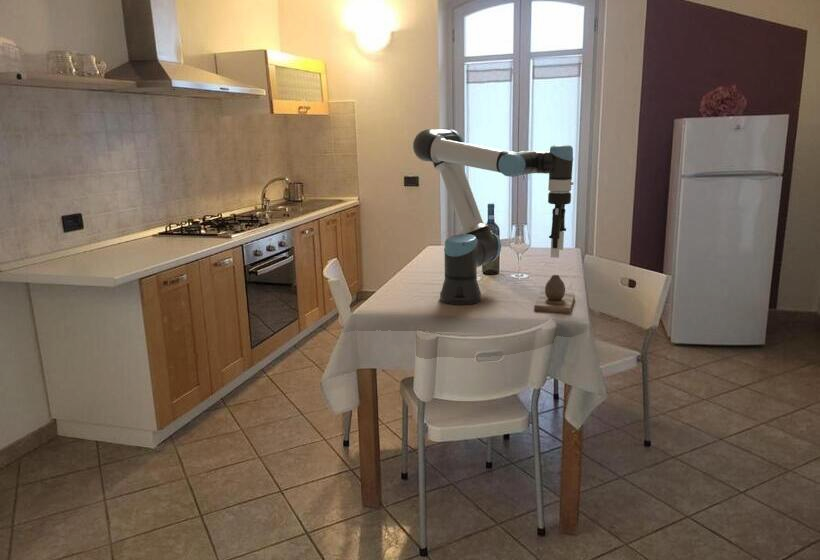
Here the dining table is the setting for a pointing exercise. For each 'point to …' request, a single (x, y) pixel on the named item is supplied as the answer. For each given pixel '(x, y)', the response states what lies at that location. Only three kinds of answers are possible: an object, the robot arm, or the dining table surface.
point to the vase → (555, 288)
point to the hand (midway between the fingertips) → (557, 253)
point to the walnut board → (555, 303)
